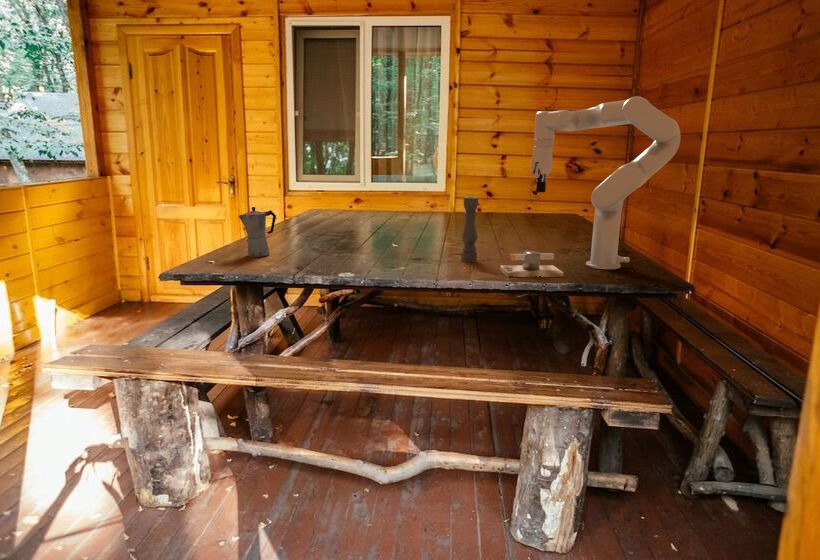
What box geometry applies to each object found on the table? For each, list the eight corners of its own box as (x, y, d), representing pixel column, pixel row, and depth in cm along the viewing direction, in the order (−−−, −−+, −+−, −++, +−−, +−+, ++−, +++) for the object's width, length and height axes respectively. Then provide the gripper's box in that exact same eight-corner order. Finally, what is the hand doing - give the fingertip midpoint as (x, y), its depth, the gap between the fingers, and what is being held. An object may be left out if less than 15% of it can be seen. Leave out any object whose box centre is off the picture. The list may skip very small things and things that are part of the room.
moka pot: (236, 255, 230) (233, 206, 226) (272, 251, 239) (270, 204, 235) (245, 259, 223) (242, 208, 218) (281, 255, 232) (279, 206, 227)
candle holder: (463, 262, 222) (465, 198, 216) (459, 259, 227) (461, 196, 222) (478, 261, 223) (481, 198, 217) (473, 258, 229) (476, 196, 223)
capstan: (548, 266, 208) (549, 250, 206) (555, 269, 202) (556, 253, 200) (506, 267, 205) (507, 251, 204) (512, 270, 199) (512, 254, 198)
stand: (552, 269, 210) (553, 264, 210) (563, 276, 198) (563, 271, 198) (499, 269, 209) (500, 264, 209) (507, 276, 197) (507, 271, 197)
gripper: (542, 144, 226) (539, 190, 230) (526, 144, 214) (523, 192, 219) (560, 144, 222) (557, 191, 226) (544, 144, 210) (541, 193, 214)
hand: (540, 192), depth 222 cm, fingers closed
